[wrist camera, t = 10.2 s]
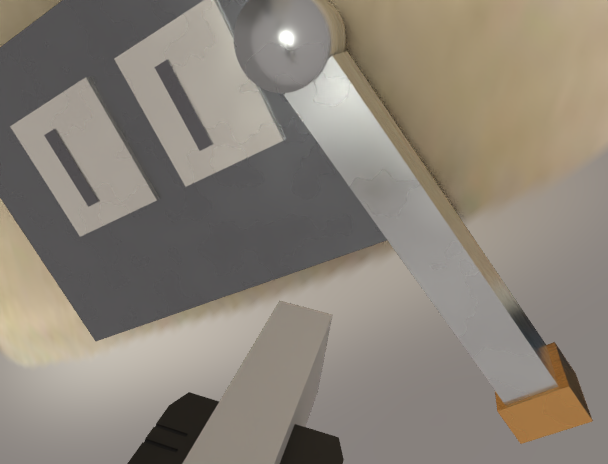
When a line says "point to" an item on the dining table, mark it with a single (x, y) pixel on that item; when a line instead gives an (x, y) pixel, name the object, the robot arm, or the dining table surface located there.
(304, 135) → the chassis
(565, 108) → the dining table surface
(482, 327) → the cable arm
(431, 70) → the dining table surface
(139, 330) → the dining table surface
